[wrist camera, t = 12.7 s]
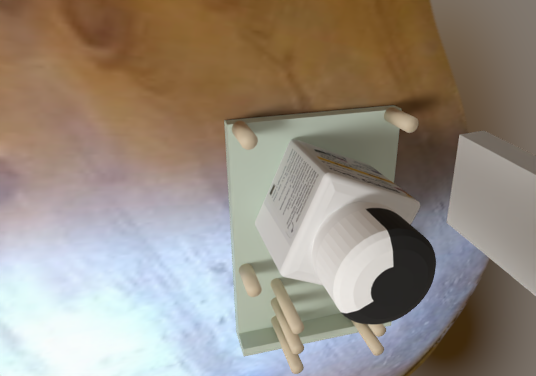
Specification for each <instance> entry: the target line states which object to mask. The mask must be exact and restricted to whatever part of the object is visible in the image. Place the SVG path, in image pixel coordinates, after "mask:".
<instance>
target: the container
mask: <svg viewBox="0 0 536 376" xmlns="http://www.w3.org/2000/svg"><path fill="white" fill-rule="evenodd" d="M419 208H420V203H419V202H418V201H417V200H415V199H414V198H413V197H412V196H410V195H409V194H408V193H406V192H405V191H404V190H402V189H401V188H400V187H398V186H397V185H396V184H394V183H393V182H392V181H390V180H389V179H388V178H386V177H385V176H384V175H383V174H381V173H380V172H379V171H377V170H376V169H375V168H373V167H372V166H371V165H368V164H365V163H363V162H360V161H357V160H354V159H351V158H348V157H345V156H342V155H340V154H337V153H334V152H331V151H328V150H325V149H322V148H319V147H316V146H314V145H311V144H308V143H305V142H302V141H299V140H296V139H292V140H290V142H289V144H288V146H287V148H286V151H285V153H284V155H283V158H282V160H281V162H280V165H279V167H278V169H277V172H276V174H275V176H274V179H273V181H272V183H271V186H270V188H269V190H268V193H267V195H266V197H265V200H264V202H263V204H262V207H261V209H260V211H259V214H258V216H257V218H256V221H255V226H256V228H257V230H258V232H259V234H260V236H261V237H262V239H263V241H264V243H265V245H266V247H267V249H268V251H269V253H270V255H271V257H272V259H273V261H274V263H275V265H276V266H277V268H278V270H279V272H280V274H281V275H282V276H283V277H286V278H291V279H296V280H300V281H305V282H310V283H314V284H319V285H323V286H324V287H325V289H326V290H327V292H328V294H329V295H330V297H331V298H332V300H333V301H334V303H335V305H336V306H337V308H338V309H339V311H340V312H341V313H342V314H343V315H344V316H345V317H347V318H348V319H350V320H352V321H354V322H357V323H361V324H371V325H373V324H384V323H388V322H391V321H394V320H396V319H398V318H400V317H402V316H404V315H405V314H407V313H408V312H410V311H411V310H412V309H414V308H415V307H416V306H417V305H418V304H419V303H420V302H421V300H422V299H423V298H424V297H425V295H426V294H427V292H428V290H429V288H430V287H431V284H432V282H433V278H434V274H435V266H436V258H435V253H434V250H433V248H432V246H431V244H430V242H429V241H428V240H427V239H426V238H425V237H424V236H423V235H422V234H420V233H419V232H418V231H417V230H416V229H415V228H414V227H412V226H411V223H412V221H413V220H414V218H415V216H416V214H417V212H418V210H419Z"/></svg>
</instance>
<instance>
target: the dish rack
mask: <svg viewBox="0 0 536 376" xmlns="http://www.w3.org/2000/svg"><path fill="white" fill-rule="evenodd" d="M401 110H402V109H401V108H399V107H397V106H395V105H391V106H380V107H369V108H357V109H346V110H335V111H324V112H313V113H301V114H290V115H279V116H268V117H256V118H245V119H234V120H224V122H225V140H226V158H227V176H228V193H229V211H230V229H231V247H232V265H233V282H234V300H235V318H236V332H237V336H238V339H239V342H240V346H241V349H242V352H243V355H244V356H248V355H253V354H258V353H263V352H267V351H272V350H277V349H281V348H282V349H283V352H284V354H285V356H286V359H287V361H288V364H289V366H290V368H291V371H292V373H294V374H298V373H300V372H301V371H302V370H303V368H304V367H303V364H302V362H301V360H300V358H299V355H298V354H300V353H301V352H302V351H303V350H304V346H303V344H305V343H310V342H315V341H319V340H324V339H329V338H334V337H338V336H343V335H348V334H352V333H357V332H359V333H360V334H361V336H362V338H363V339H364V341H365V342H366V344H367V345H368V347H369V348H370V350H371V351H372V353H373V354H374V355H376V356H377V355H380V354H382V353H383V351H384V347H383V346H382V345H381V343H380V342H379V340H378V339H377V337H376V336H378V337H379V336H382V335H384V334H385V332H386V328H385V327H386V326H390V325H391V322H388V323H384V324H373V325H371V324H361V323H357V322H354V321H352V320H350V319H348V318H347V317H345V316H344V315H343V314H342V313H341V312H340V311H339V309H338V308H337V306H336V305H335V303H334V301H333V300H332V298H331V297H330V295H329V294H328V292H327V290H326V289H325V287H324V286H323V285H319V284H314V283H310V282H305V281H300V280H296V279H291V278H286V277H283V276H282V275H281V274H280V272H279V270H278V268H277V266H276V265H275V263H274V261H273V259H272V257H271V255H270V253H269V251H268V249H267V247H266V245H265V243H264V241H263V239H262V237H261V236H260V234H259V232H258V230H257V228H256V226H255V221H256V218H257V216H258V214H259V211H260V209H261V207H262V204H263V202H264V200H265V197H266V195H267V193H268V190H269V188H270V186H271V183H272V181H273V179H274V176H275V174H276V172H277V169H278V167H279V165H280V162H281V160H282V158H283V155H284V153H285V151H286V148H287V146H288V144H289V142H290V140H292V139H296V140H299V141H302V142H305V143H308V144H311V145H314V146H316V147H319V148H322V149H325V150H328V151H331V152H334V153H337V154H340V155H342V156H345V157H348V158H351V159H354V160H357V161H360V162H363V163H365V164H368V165H371V166H372V167H373V168H375V169H376V170H377V171H379V172H380V173H381V174H383V175H384V176H385V177H386V178H388V179H389V180H390V181H392V182H393V183H394V178H395V168H396V159H397V149H398V139H399V130H400V129H402V130H404V131H406V132H408V133H412V132H414V131H415V130H416V129H417V127H418V124H419V123H418V119H417V118H415V117H413V116H411V115H409V114H407V113H405V112H403V111H401ZM372 331H373V332H372ZM375 335H376V336H375Z"/></svg>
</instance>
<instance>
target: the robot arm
mask: <svg viewBox="0 0 536 376" xmlns="http://www.w3.org/2000/svg"><path fill="white" fill-rule="evenodd" d="M447 223H448V224H449V225H450V226H451V227H453V228H454V229H455V230H456V231H458V232H459V233H460V234H461V235H462V236H464V237H465V238H466V239H467V240H468V241H470V242H471V243H472V244H473V245H474V246H476V247H477V248H478V249H479V250H481V251H482V252H483V253H484V254H485V255H487V256H488V257H489V258H490V259H491V260H493V261H494V262H495V263H496V264H498V265H499V266H500V267H501V268H502V269H504V270H505V271H506V272H507V273H508V274H510V275H511V276H512V277H513V278H515V279H516V280H517V281H518V282H519V283H520V284H522V285H523V286H524V287H525V288H527V289H528V290H529V291H530V292H531V293H533V294H534V295H535V296H536V155H533V154H532V153H530V152H528V151H525V150H523V149H521V148H519V147H517V146H515V145H513V144H511V143H509V142H507V141H504V140H503V139H500V138H499V137H496V136H494V135H492V134H490V133H488V132H486V131H479V132H473V133H466V134H460V135H459V142H458V149H457V156H456V162H455V169H454V176H453V183H452V190H451V197H450V203H449V210H448V217H447Z"/></svg>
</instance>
